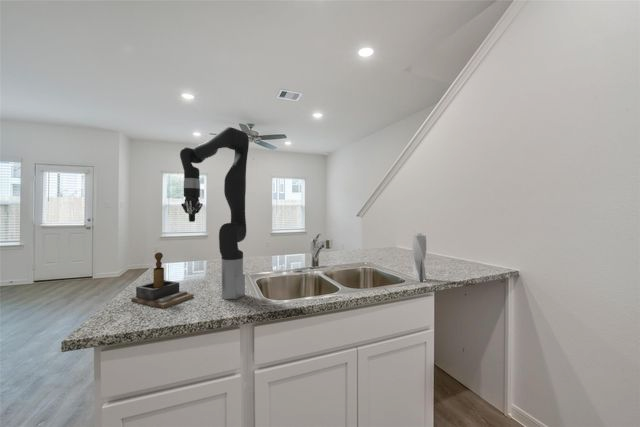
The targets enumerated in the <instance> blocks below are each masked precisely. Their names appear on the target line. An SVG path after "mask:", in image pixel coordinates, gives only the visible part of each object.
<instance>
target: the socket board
mask: <svg viewBox="0 0 640 427" xmlns="http://www.w3.org/2000/svg"><path fill="white" fill-rule="evenodd" d="M153 283H154V281H153V282H150V283H146V284H142V285H138V286H136V287H135V296H133V297H130V298H131V299H130V301H131V302H133V303H138V304H142V305H147V306H151V307H155V308H160V309H166V308H168V307H171V306H173V305H176V304H179V303H181V302H184V301H187V300H190V299H192V298H194V293H190V292H188V291H186V290H182V291H180V282H177V281H171V280H165V279H164V285H165V286H163V287H159V288H156V289H152V287H153Z"/></svg>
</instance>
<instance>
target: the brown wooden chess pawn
mask: <svg viewBox="0 0 640 427" xmlns="http://www.w3.org/2000/svg"><path fill="white" fill-rule="evenodd" d="M163 257H164V255H163V253H162V252H156V253H155V254H154V258H155V260H156V263H155V268H153V282H154V283H153V282H152V283H153V287H152V289H156V288H159V287H163V286H165V285H164V280H165V267H162V264H163V263H162V260H163V259H162V258H163Z"/></svg>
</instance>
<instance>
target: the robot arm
mask: <svg viewBox="0 0 640 427" xmlns="http://www.w3.org/2000/svg"><path fill="white" fill-rule="evenodd" d="M249 144H250V140H249V136H248V134H247V133H246V132H245V131H243V130H241V129H237V128H234V127H232V126H231V127H229V126H228V127H226V128H224V129H222V130H220V131H219V132H218V133H217V134H215V135H214V136H212V138H210V139H208V140H206V141H205V142H202V143H200V144H198V145H196V146H194V148H191V147H183V148H182V149H180V152H179V157H180V161H181V162H180V163H181V165H182V168H183V198H185V199H184V202H183V203H181V207H182V209H183V210H184V212H185V213H186V214H188V221H189V223H195V221H196V214H198V213H199V212H200V210H201V209H202V208H203V205H204V204H203V203H201V202H200V199H199V198H200V197H201V180H200V169H199V168H198V167H196V166H194V165H193V164H201V163H202V162H204V161H205V160H207V159H208V158H210V157H211V158H212V157H214V156H215V155H216V154H217V153H218V151H219V149H222V148H223V149H224V148H226V149H228V150H229V149H230V150H233V151H234V157H233V158H234V160H233V163H232V165H231V167H230V168H229V170H228V171H227V173H226V175H225V176H224V177H225V178H224V186H223V187H224V189H223V191H224V198H225V200H226V202H227V205H228V207H229V210H230V222H227V223H224V224H222V225H221V226H220V227H219V231H218V246H219V253H220V255H221V298H222V299H223V300H238V299H240V298H242V297H244V296H246V275H245V274H244V252H243V251H242V250H240V249H239V244H238V243H240V242H242V241H244V240H245V239H246V236H247V218H246V190H247V163H248V154H249Z"/></svg>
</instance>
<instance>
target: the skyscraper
mask: <svg viewBox="0 0 640 427" xmlns="http://www.w3.org/2000/svg"><path fill="white" fill-rule="evenodd" d="M412 233H413V237H412V244H411V246H412V258H413V268H412V276H411V277H412V278H413V279H417V280H420V282H419V283H424V282H423V280H424V279H426V280H427V275H426V273H427V272H426V266H425V261H426V260H425V259H426V255H427V235H426V233H424V232H423V233H418V232H416V231H415V230H413V231H412ZM412 278H411V279H412Z"/></svg>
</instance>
